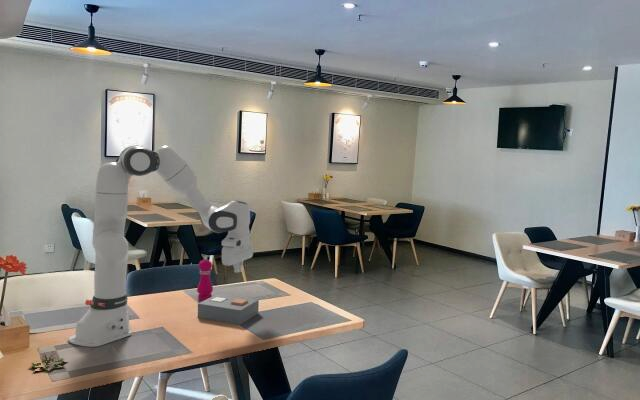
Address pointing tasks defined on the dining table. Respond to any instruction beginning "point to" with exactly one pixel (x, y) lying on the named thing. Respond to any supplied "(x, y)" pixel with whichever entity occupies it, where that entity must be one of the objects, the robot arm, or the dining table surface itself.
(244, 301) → the tan cube
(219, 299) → the cream plunger
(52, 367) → the green leafy plant
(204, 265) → the pepper mill
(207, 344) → the dining table surface
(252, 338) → the dining table surface
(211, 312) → the button console
